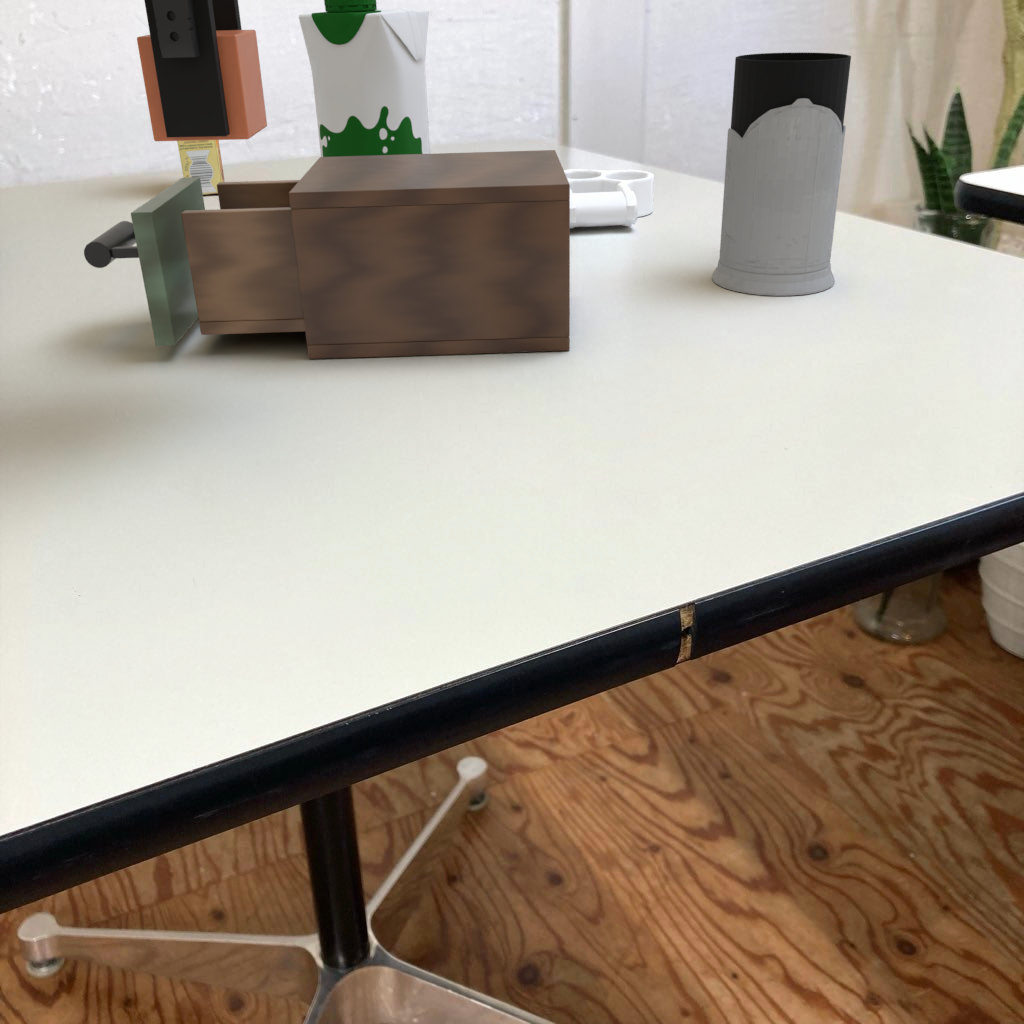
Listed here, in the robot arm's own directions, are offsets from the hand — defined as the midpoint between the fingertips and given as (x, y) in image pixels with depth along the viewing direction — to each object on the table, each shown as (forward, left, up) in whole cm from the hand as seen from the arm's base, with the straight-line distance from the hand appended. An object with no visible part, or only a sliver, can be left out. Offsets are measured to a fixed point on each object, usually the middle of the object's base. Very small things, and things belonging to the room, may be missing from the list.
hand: (211, 126), depth 50 cm
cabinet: (+10, +14, -14) cm, 22 cm away
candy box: (-18, +67, -14) cm, 71 cm away
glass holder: (+34, +25, -14) cm, 44 cm away
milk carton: (+4, +40, -14) cm, 42 cm away
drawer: (-2, +14, -13) cm, 19 cm away
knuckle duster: (+20, +46, -14) cm, 52 cm away
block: (0, 0, 0) cm, 0 cm away
